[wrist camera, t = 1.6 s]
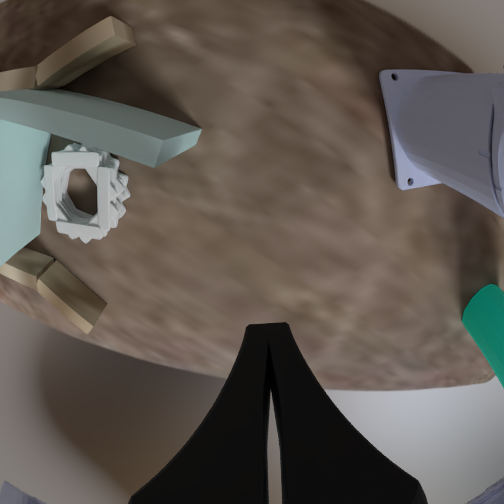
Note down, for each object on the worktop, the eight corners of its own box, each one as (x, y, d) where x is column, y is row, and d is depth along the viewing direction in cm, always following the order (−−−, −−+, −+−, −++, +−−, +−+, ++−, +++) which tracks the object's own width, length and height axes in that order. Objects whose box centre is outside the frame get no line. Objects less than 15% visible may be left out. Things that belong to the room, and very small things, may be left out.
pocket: (141, 27, 12) (122, 14, 9) (108, 314, 22) (95, 336, 19) (-28, 58, 9) (-48, 59, 7) (-27, 256, 20) (-42, 269, 17)
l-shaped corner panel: (33, 230, 18) (-22, 275, 12) (55, 88, 13) (-22, 94, 6) (151, 283, 20) (115, 355, 14) (202, 128, 15) (163, 140, 9)
